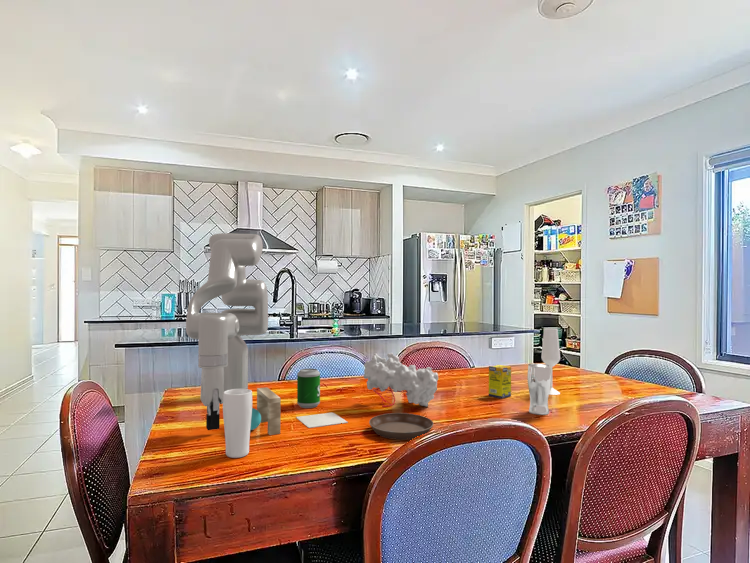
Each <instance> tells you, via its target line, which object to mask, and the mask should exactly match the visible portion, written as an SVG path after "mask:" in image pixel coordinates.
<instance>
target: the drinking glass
mask: <svg viewBox="0 0 750 563" xmlns="http://www.w3.org/2000/svg"><path fill="white" fill-rule="evenodd" d="M252 408H253V391H252V389H231V390H227V391H225V392H223V403H222V419H223V426H224V441H225V455H226V456H227V458H232V459H238V458H244V457H246V456H247V455H249V452H250V436H251V430H250V428H251V417H252Z"/></svg>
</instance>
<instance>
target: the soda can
mask: <svg viewBox="0 0 750 563" xmlns="http://www.w3.org/2000/svg"><path fill="white" fill-rule="evenodd" d="M296 378H297V380H296V384H297V386H296V388H297V389H296V390H297V391H296V398H297V399H296V400H297V401H296V402H297V406H299V407H300V408H301V409H313V408H316V407H318V405H320V403H321V372H320V371H319V370H318V368H317V369H316V368H301V369H300V370H299V371H298V372H297V377H296Z"/></svg>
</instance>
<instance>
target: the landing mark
mask: <svg viewBox="0 0 750 563" xmlns="http://www.w3.org/2000/svg"><path fill="white" fill-rule="evenodd" d="M295 418H296V419H297V420H298V421H299V422H301V423H302V424H303V425H305V426H306V427H307V428H308V429H314V428H320V427H327V426H333V425H334V426H336V425H340V424H341V423H342V424H348V423H349V421H347V420H345V418H342V417H341V416H340V415H338V414H336V413H335V412H326V413H317V414H316V413H315V414H310V415H301V416H296V417H295ZM342 424H341V425H342Z"/></svg>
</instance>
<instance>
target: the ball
mask: <svg viewBox="0 0 750 563" xmlns="http://www.w3.org/2000/svg"><path fill="white" fill-rule="evenodd" d="M260 422H261V415H260V413H259V411H257V408H253V407H252V417H251V428H250V431H253V430H256V429H258V427H260V425H261V423H262V422H261V423H260Z"/></svg>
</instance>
